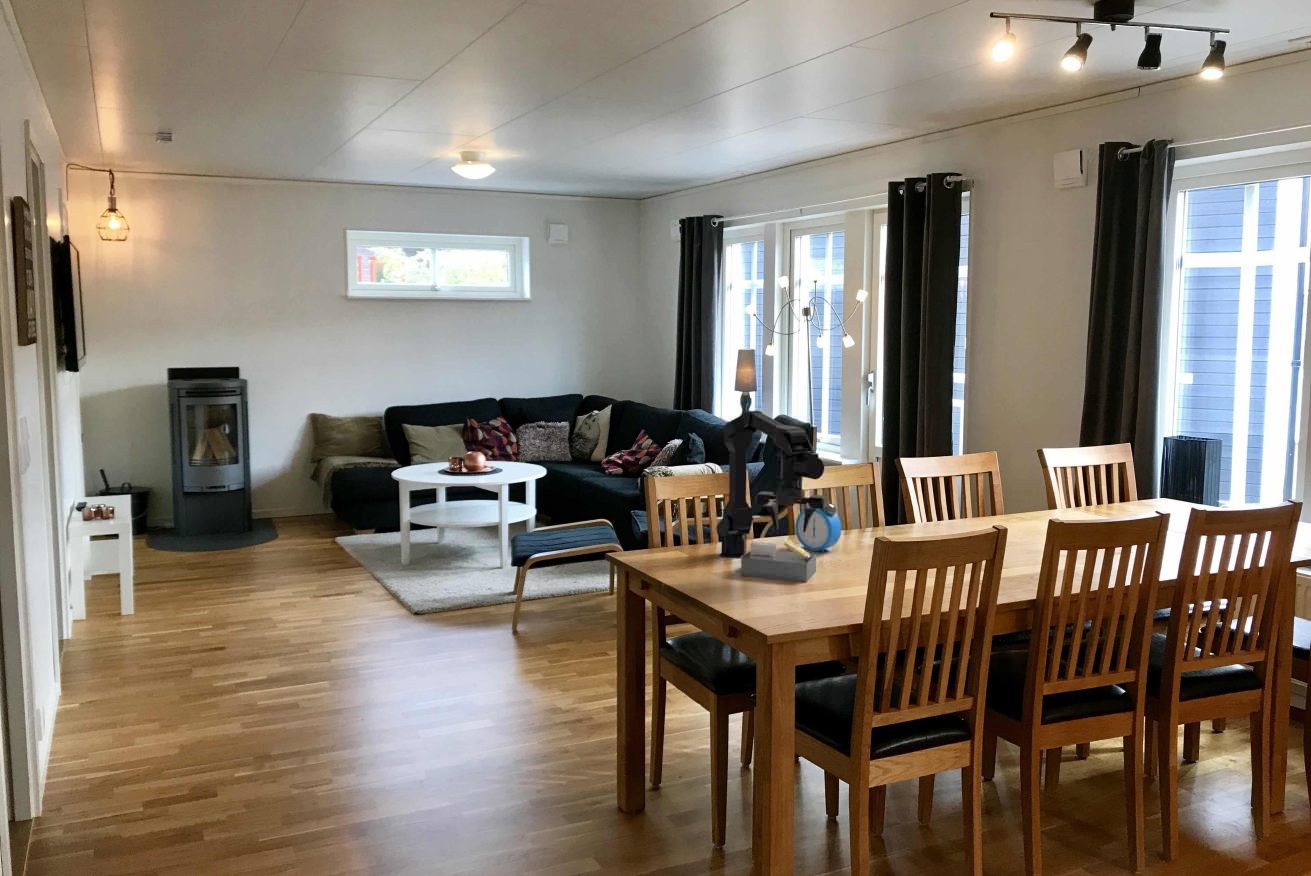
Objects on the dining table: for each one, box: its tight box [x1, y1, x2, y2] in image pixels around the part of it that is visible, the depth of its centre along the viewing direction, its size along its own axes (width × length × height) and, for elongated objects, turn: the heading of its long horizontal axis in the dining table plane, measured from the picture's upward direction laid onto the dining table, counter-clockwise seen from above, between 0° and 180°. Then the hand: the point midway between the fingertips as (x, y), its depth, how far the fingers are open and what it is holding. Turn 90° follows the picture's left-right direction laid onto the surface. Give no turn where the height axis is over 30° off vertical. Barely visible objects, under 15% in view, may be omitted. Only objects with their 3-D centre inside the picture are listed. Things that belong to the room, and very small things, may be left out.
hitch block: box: [740, 550, 817, 583], centre depth 283 cm, size 18×12×5 cm, turn 70°
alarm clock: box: [794, 501, 842, 554], centre depth 312 cm, size 13×6×15 cm, turn 48°
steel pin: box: [749, 541, 777, 557], centre depth 285 cm, size 6×3×8 cm, turn 70°
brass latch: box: [783, 539, 812, 560], centre depth 281 cm, size 8×4×1 cm
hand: (790, 531), depth 281 cm, fingers open, 7 cm apart
